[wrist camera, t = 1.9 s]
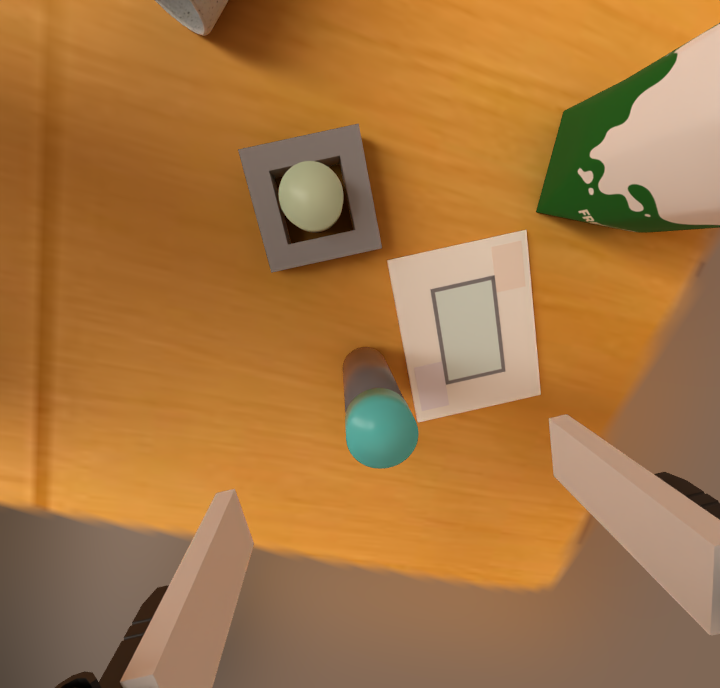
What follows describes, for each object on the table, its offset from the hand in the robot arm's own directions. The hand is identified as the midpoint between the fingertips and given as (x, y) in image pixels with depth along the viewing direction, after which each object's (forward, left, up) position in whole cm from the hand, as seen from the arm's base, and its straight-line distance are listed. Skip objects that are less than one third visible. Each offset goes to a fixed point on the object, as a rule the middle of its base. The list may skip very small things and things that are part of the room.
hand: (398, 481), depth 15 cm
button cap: (-1, +13, -14) cm, 19 cm away
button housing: (-1, +13, -16) cm, 20 cm away
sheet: (+9, +1, -16) cm, 18 cm away
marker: (0, 0, -16) cm, 16 cm away
